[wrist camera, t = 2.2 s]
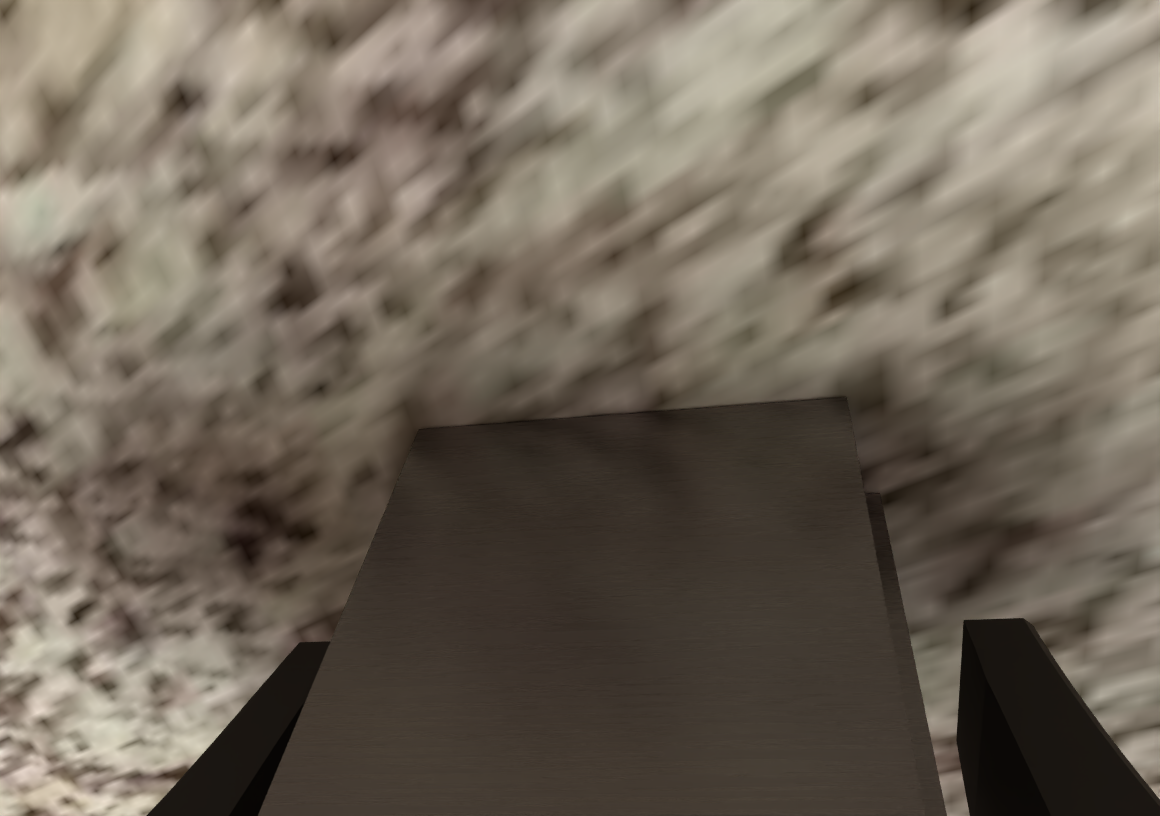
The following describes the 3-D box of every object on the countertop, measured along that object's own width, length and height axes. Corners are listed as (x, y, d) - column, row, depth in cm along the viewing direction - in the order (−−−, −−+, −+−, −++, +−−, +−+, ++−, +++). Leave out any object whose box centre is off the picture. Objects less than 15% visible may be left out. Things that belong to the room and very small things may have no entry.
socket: (881, 728, 14) (966, 1265, 9) (492, 733, 15) (386, 1218, 10) (878, 394, 11) (1008, 936, 6) (391, 431, 12) (170, 918, 7)
